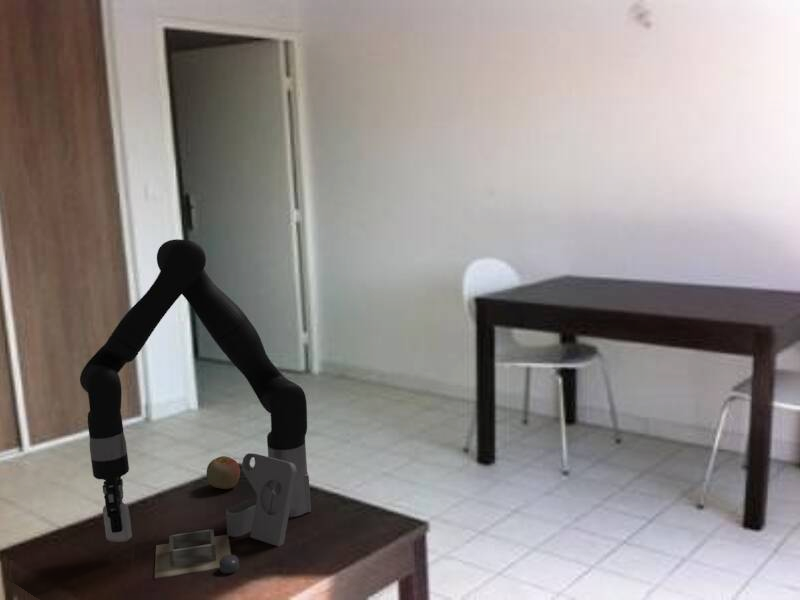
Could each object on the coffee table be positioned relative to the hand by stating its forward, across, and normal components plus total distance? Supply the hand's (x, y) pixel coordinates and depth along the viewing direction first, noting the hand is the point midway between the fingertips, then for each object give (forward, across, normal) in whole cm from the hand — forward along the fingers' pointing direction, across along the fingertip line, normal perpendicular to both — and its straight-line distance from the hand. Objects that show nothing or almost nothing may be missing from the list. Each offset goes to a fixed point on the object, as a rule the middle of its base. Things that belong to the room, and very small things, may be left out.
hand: (117, 526), depth 185 cm
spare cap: (+7, -16, -23) cm, 29 cm away
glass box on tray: (+7, -7, -16) cm, 19 cm away
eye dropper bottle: (+3, 0, 0) cm, 3 cm away
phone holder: (+8, -1, -32) cm, 32 cm away
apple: (+8, +34, -24) cm, 43 cm away
